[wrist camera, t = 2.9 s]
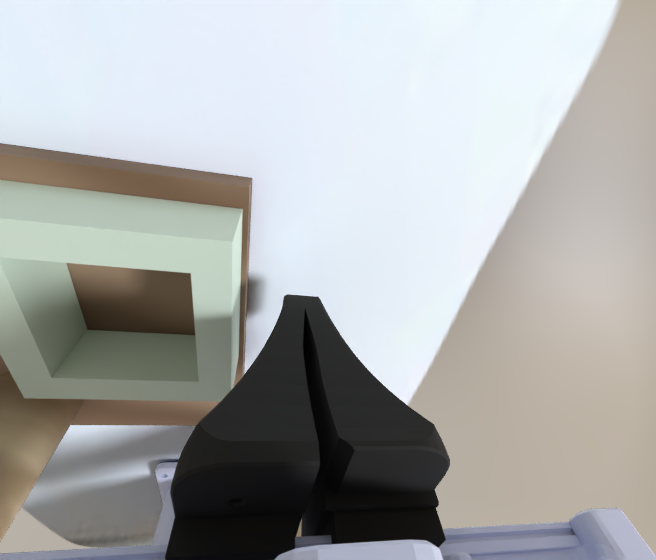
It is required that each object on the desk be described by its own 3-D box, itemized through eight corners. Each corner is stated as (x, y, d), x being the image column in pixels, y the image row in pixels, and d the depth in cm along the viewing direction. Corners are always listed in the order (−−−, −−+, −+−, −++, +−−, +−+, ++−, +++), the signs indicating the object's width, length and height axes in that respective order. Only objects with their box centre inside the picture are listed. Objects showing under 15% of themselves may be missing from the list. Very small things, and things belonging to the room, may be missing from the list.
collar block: (238, 355, 15) (230, 401, 13) (63, 348, 14) (24, 398, 12) (242, 209, 11) (232, 242, 9) (-3, 179, 10) (-79, 210, 8)
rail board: (242, 410, 19) (230, 504, 15) (-11, 407, 17) (-106, 517, 13) (252, 178, 12) (232, 241, 8) (-201, 115, 9) (-580, 157, 5)
